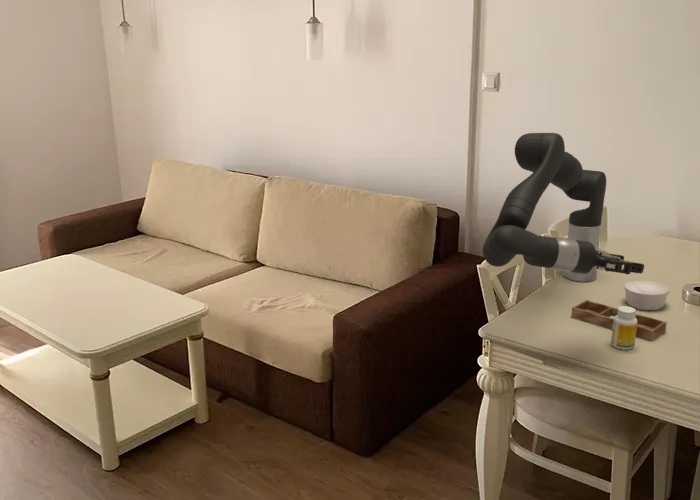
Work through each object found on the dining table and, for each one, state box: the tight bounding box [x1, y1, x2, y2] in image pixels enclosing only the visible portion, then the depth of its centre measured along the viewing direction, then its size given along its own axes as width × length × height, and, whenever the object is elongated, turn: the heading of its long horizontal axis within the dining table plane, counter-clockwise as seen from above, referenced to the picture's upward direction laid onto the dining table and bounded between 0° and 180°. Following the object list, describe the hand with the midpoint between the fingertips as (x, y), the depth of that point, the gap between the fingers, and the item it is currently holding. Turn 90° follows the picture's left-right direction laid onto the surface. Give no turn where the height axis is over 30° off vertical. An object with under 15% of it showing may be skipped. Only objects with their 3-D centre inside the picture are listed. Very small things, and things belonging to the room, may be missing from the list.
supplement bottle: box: [610, 305, 637, 351], centre depth 172 cm, size 5×5×10 cm
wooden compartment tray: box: [570, 299, 667, 342], centre depth 185 cm, size 22×8×3 cm, turn 44°
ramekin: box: [624, 280, 670, 311], centre depth 198 cm, size 11×11×5 cm
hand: (632, 264), depth 167 cm, fingers open, 8 cm apart
